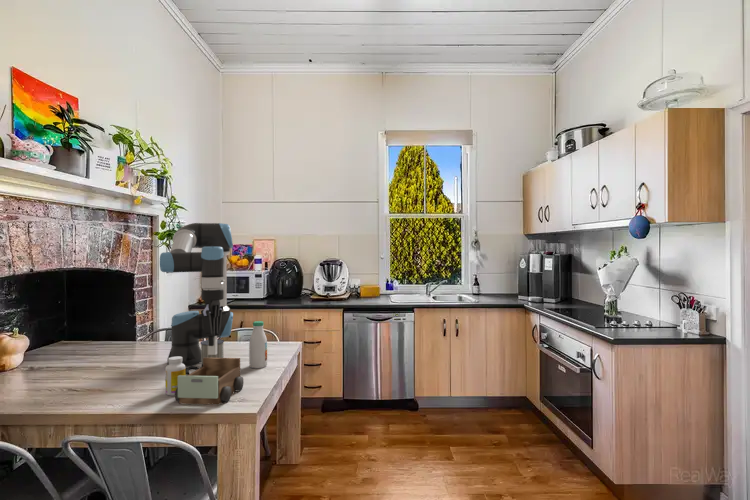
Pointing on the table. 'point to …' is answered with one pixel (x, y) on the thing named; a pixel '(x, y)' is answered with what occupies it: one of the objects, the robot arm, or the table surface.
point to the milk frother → (205, 353)
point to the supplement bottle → (173, 374)
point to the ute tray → (226, 379)
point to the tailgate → (197, 386)
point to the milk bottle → (258, 346)
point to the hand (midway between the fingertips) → (212, 354)
